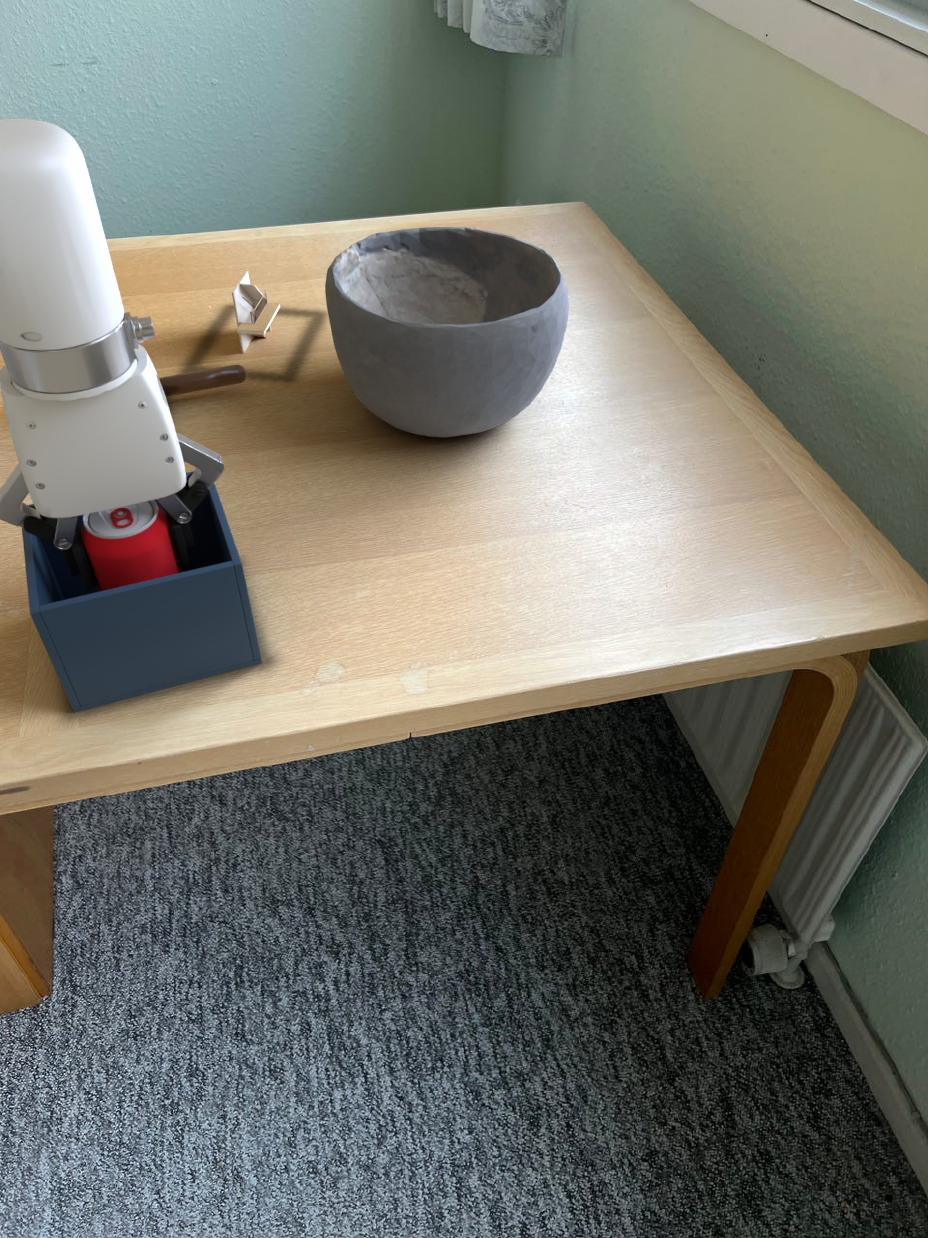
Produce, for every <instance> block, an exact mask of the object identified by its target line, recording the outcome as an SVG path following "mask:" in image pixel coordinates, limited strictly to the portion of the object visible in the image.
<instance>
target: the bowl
mask: <svg viewBox="0 0 928 1238" xmlns="http://www.w3.org/2000/svg"><path fill="white" fill-rule="evenodd" d="M324 286H325V287H324V293H325V302H326V309H327V314H328V320H329V325H330V326H329V327H330V331H331V336H332V341H333V346H334V349H335V354H336V357H337V359H338V362H339V365H340V368H341V371H342V373H343V376H344V379H345V380H346V382H347V385H348V386H349V388H350V389H351V391H352V392H353V394H354V395H355V397H356V398H357V400H359V401H360V403H361V404H362V405H363V406H364V407H365V408H366V409H367V410H368V411H369V412H371V413H372V414H373V415H374V416H376V417H378V418H379V419H380V420H382V421H384V422H385V423H387V425H390V426H391V427H393V428H395V429H397V430H401V431H404V432H406V433H409V434H413V435H419V436H425V437H430V438H453V437H458V436H467V435H472V434H473V435H474V434H479V433H482V432H486V431H489V430H492V429H494V428H497V427H499V426H503V425H504V424H506V423H507V422H509V421H510V420H512V419H514V418H515V417H517V416H518V415H519V414H520V413H522V412H523V411H524V410H525V409H527V408H528V407H529V406H530V405H531V404H532V402H533V401H534V400H535V399H536V397H537V396H538V395H539V394H540V393H541V391H542V390H543V388H544V386H545V385H546V382H547V381H548V379H549V377H550V376H551V375H552V373H553V370H554V368H555V365H556V363H557V361H558V358H559V355H560V352H561V350H562V346H563V342H564V339H565V335H566V331H567V328H568V319H569V311H570V300H569V293H568V292H569V291H568V286H567V281H566V280H565V277H564V274H563V271H562V270H561V267H560V266H559V264H558V263H557V261H556V260H555V259H554V258H553V256H552V255H551V254H550V253H549V252H547V251H546V250H545V249H542V248H540V247H538V246H537V245H534V244H532V243H530V242H527V241H525V240H522V239H519V238H517V237H515V236H513V235H512V236H511V235H508V234H503V233H500V232H496V231H493V230H488V229H479V228H476V227H466V226H465V227H464V226H463V227H462V226H436V227H435V226H428V227H427V226H426V227H424V226H423V227H413V228H404V229H403V228H402V229H396V230H390V231H383V232H375V233H372V234H370V235H368V236H366V237H364V238H363V239H361V240H358V241H356V242H354V243H352V244H350V246H348V247H347V248H345V249H344V250H342V252H340V253H339V254H338V255H336V256H335V257H334V259H333V260H332V262H331V263H330V265H329V266H328V268H327V270H326V276H325V283H324Z"/></svg>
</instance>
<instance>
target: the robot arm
mask: <svg viewBox="0 0 928 1238" xmlns="http://www.w3.org/2000/svg"><path fill="white" fill-rule="evenodd" d="M102 223H103V222H102V218H101V216H100V211H99V207H98V204H97V200H96V195H95V192H94V188H93V184H92V180H91V176H90V172H89V169H88V166H87V162H86V159H85V155H84V153H83V151H82V149H81V147H80V146H79V143H78V142H77V140H76V139H75V137H73V136H72V135H71V133H69V132H67V130H66V129H64V128H62V127H60V126H58V125H56V124H55V123H51V122H49V121H48V122H47V121H44V120H37V119H31V118H18V117H17V118H15V117H14V118H0V354H1V356H2V357H1V358H2V359H3V362H4V365H3V367H1V369H0V394H1V401H2V405H3V411H4V413H5V418H6V422H7V426H8V430H9V434H10V437H11V441H12V444H13V447H14V451H15V454H16V458H17V461H18V464H17V465H16V466H15V468H14V469H13V471H12V472H11V474H9V476H8V478H7V479H5V482H4V483H3V484H2V486H1V487H0V521H2V522H5V523H7V524H10V525H12V526H15V527H20V528H21V529H22V528H24V530H25V531H26V532H28V533H30V534H33V535H35V536H38V537H40V538H43V539H45V540H48V541H50V542H53V543H54V546H55V547H56V548H57V549H59V550H62V551H63V553H64V556H65V559H66V561H67V564H68V567H69V569H70V572H71V574H72V576H76V575H81V576H82V579H83V581H84V584H85V587H86V589H87V590H90V589H94V586H97V585H96V579H95V577H94V574H93V571H92V568H91V566H90V563H89V560H88V557H87V555H86V552H85V549H84V546H83V543H82V538H81V529H80V526H76V523H77V518H78V516H79V515H84V514H89V513H94V512H99V511H104V510H108V509H113V508H118V507H123V506H127V505H132V504H137V503H141V502H146V501H151V500H155V499H156V500H157V501H158V502H159V503H160V504H161V505H162V506H163V507H164V508H165V510H166V514H167V518H168V521H169V525H170V529H171V532H172V536H173V540H174V544H175V547H176V551H177V555H178V558H179V562H180V566H184V567H189V566H190V562H189V558H188V554H187V550H190V549H195V548H196V547H195V543H194V539H193V535H192V531H191V527H190V523H189V522H190V521H191V519H192V512H193V511H194V510H195V509H196V508H197V506H198V505H199V504H200V503H201V501H202V500H203V499H204V498H205V496H206V495H207V494H208V489H209V488H210V486H212V485H213V484H214V483H215V484H216V482H217V481H218V479H219V478H220V477H221V475H222V474H223V473H224V472H225V470H226V466H225V463H224V460H223V457H222V456H221V454H220V453H218V452H216V451H214V450H212V449H210V448H208V447H206V446H204V445H202V444H201V443H199V442H197V441H195V440H194V439H191V438H190V437H187V436H186V435H183V434H182V433H180V432H178V431H177V430H176V426H175V424H174V420H173V416H172V414H171V410H170V407H169V404H168V400H167V397H165V393H164V391H163V388H162V385H161V382H160V380H159V378H160V377H159V374H158V373H157V370H156V368H155V365H154V363H153V361H152V359H151V357H150V355H149V353H148V352H147V349H146V348H145V347H144V346H143V345H141V344H143V343H145V340H146V341H147V340H151V339H156V334H155V329H154V325H153V321H152V318H151V316H145V317H138V316H137V315H135V316H131V313H130V311H128V312H125V308H124V304H123V300H122V296H121V292H120V289H119V284H118V281H117V277H116V274H115V269H114V266H113V262H112V258H111V254H110V251H109V247H108V243H107V238H106V235H105V230H104V228H103V224H102ZM185 463H186V464H189V465H191V466H192V467H195V469H194V471H195V472H194V473H191V474H190V475H189V476H188V477H187V478H186V473H187V472H186V466H185ZM28 495H29V496H30V500H31V501H32V504H34V506H27V505H28V504H26V503H24V500H25V499H26V498H27V496H28Z"/></svg>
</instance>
